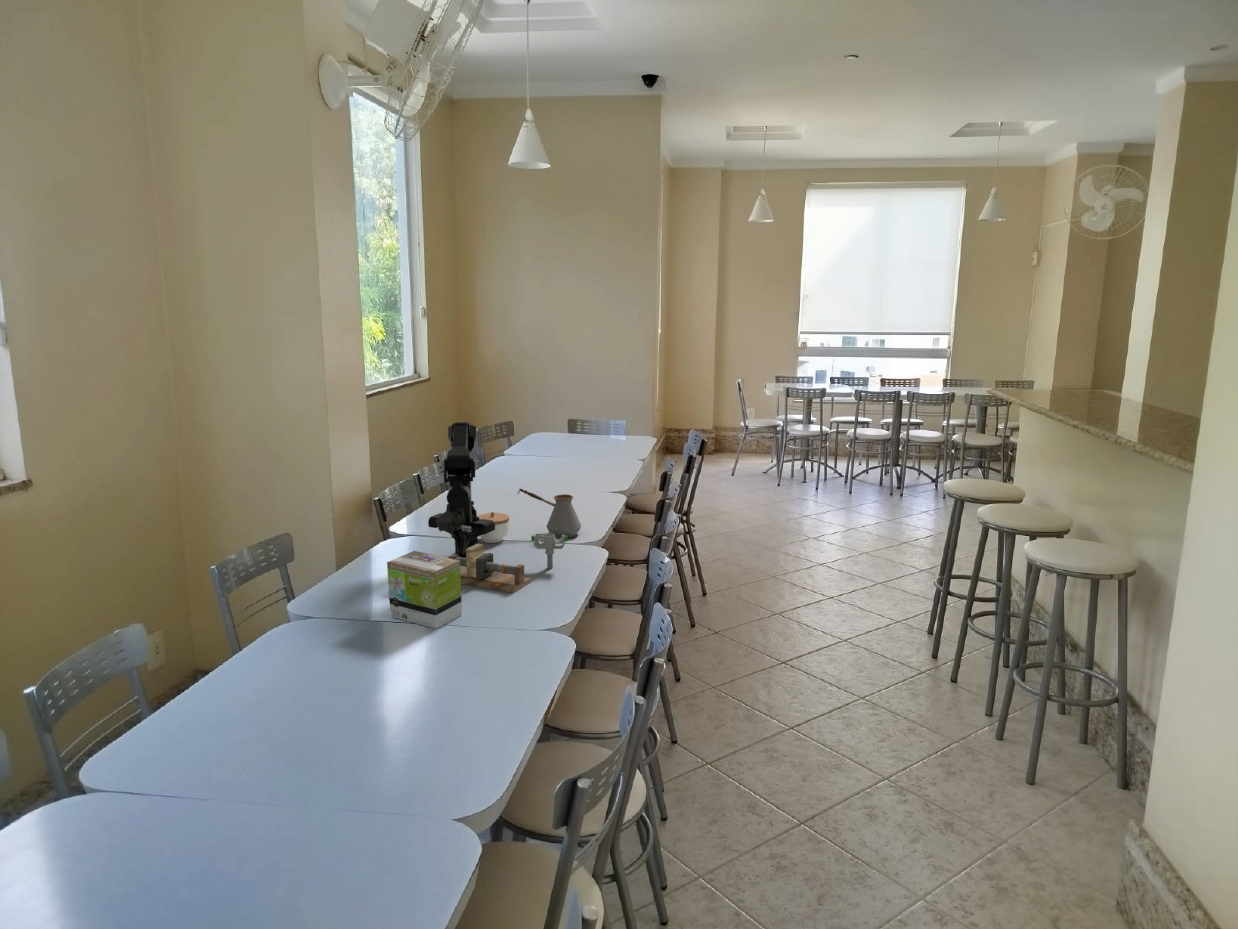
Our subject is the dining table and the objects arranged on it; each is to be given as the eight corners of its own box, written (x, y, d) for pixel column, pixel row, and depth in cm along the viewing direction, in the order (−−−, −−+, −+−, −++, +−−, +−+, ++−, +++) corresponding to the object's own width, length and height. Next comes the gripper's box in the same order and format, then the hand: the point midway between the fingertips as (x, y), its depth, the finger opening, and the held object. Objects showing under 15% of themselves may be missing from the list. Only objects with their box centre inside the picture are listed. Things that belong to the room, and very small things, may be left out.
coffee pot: (584, 530, 267) (584, 487, 264) (576, 540, 256) (576, 495, 253) (523, 527, 271) (522, 484, 268) (513, 536, 260) (512, 492, 257)
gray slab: (477, 578, 217) (476, 558, 216) (488, 571, 222) (488, 552, 220) (482, 579, 216) (481, 559, 215) (493, 572, 221) (493, 553, 220)
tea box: (388, 618, 194) (385, 560, 191) (416, 604, 203) (413, 549, 200) (436, 630, 187) (433, 570, 184) (463, 615, 196) (461, 558, 193)
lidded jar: (470, 543, 253) (469, 515, 251) (485, 534, 263) (484, 506, 261) (501, 546, 250) (500, 517, 248) (515, 536, 260) (514, 509, 258)
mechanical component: (567, 569, 228) (566, 536, 226) (531, 569, 229) (531, 536, 227) (568, 566, 231) (567, 533, 229) (533, 566, 232) (532, 533, 229)
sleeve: (467, 575, 218) (465, 549, 217) (478, 569, 223) (477, 543, 221) (476, 577, 217) (475, 550, 215) (487, 571, 222) (486, 545, 220)
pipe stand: (442, 580, 220) (441, 559, 219) (461, 570, 228) (460, 550, 227) (513, 593, 210) (512, 571, 209) (530, 582, 218) (530, 561, 217)
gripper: (414, 502, 214) (416, 557, 217) (471, 509, 206) (473, 566, 210) (439, 493, 224) (442, 546, 227) (495, 500, 216) (497, 554, 220)
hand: (462, 553), depth 221 cm, fingers closed
